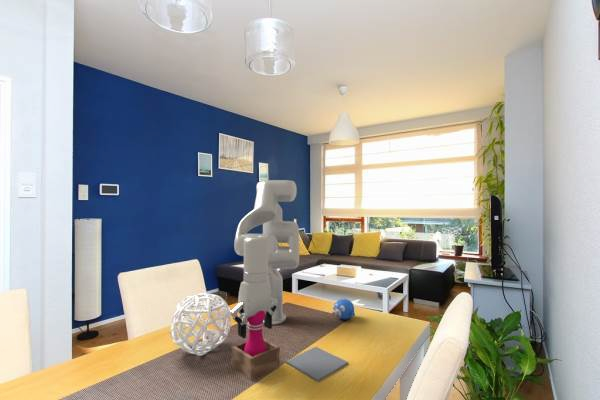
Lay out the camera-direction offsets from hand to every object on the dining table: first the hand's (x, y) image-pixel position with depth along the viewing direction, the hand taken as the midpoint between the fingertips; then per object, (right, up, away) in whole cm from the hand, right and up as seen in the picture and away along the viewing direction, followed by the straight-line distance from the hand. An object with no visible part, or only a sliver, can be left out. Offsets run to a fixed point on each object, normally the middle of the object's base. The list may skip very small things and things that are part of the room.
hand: (255, 332), depth 95 cm
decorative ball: (-20, -11, +9) cm, 24 cm away
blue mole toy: (+32, -11, +38) cm, 51 cm away
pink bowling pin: (0, -11, 0) cm, 11 cm away
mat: (+19, -11, +2) cm, 22 cm away
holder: (0, -11, 0) cm, 11 cm away
